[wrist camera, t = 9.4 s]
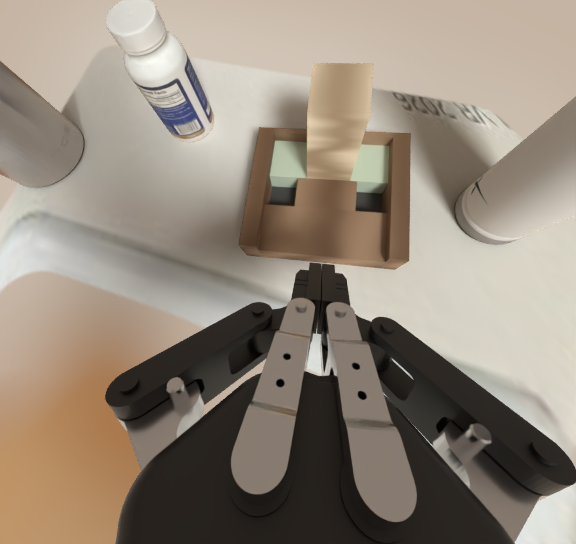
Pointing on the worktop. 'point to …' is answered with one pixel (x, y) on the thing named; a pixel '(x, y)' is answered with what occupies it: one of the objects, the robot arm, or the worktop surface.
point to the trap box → (329, 203)
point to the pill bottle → (161, 69)
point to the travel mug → (525, 185)
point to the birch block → (337, 118)
